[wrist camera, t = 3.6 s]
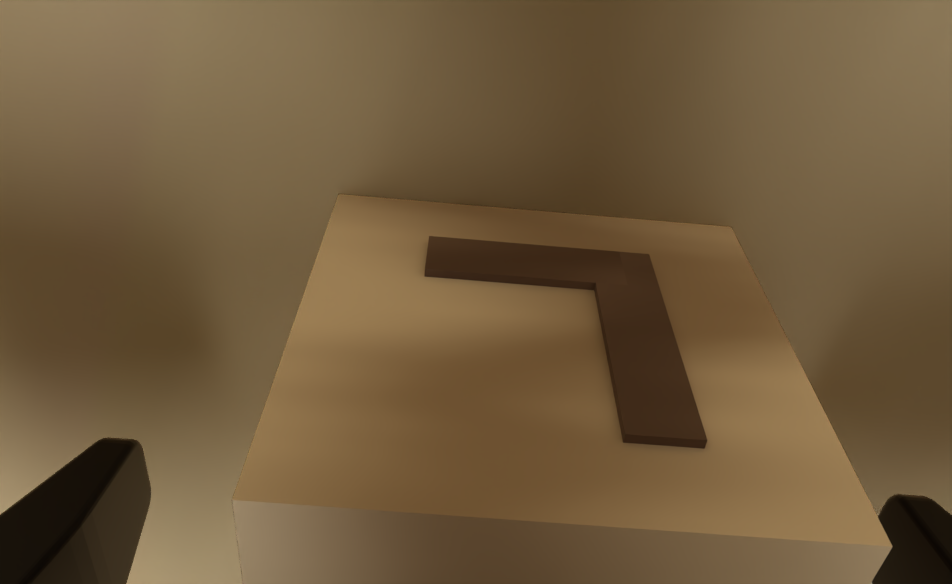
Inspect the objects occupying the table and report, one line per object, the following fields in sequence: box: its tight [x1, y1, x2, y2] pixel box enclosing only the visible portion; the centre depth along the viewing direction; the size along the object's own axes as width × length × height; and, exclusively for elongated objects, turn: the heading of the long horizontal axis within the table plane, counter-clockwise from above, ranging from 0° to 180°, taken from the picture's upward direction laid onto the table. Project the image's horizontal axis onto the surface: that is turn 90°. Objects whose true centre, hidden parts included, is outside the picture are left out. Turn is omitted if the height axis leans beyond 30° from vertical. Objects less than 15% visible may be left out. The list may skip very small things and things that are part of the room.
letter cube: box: [232, 194, 893, 584], centre depth 9 cm, size 5×5×5 cm
